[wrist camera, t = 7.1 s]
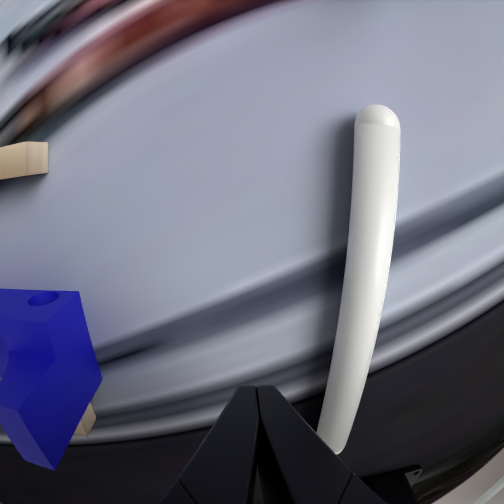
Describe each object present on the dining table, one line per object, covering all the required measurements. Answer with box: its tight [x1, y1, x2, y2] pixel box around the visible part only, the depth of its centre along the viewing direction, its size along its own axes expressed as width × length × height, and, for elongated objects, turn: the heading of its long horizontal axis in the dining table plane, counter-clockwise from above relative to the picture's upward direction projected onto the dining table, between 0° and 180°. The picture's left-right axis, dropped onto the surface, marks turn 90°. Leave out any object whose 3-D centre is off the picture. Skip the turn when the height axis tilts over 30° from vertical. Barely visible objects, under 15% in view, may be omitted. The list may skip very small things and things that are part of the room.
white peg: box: [316, 104, 400, 455], centre depth 11 cm, size 16×2×2 cm, turn 179°
